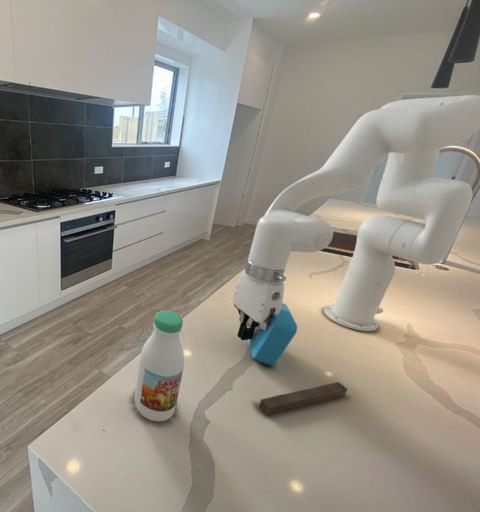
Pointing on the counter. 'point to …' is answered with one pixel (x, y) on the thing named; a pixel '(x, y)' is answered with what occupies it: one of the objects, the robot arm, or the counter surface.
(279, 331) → the data package
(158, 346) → the milk bottle
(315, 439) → the counter surface
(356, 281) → the robot arm
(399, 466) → the counter surface
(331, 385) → the strip
